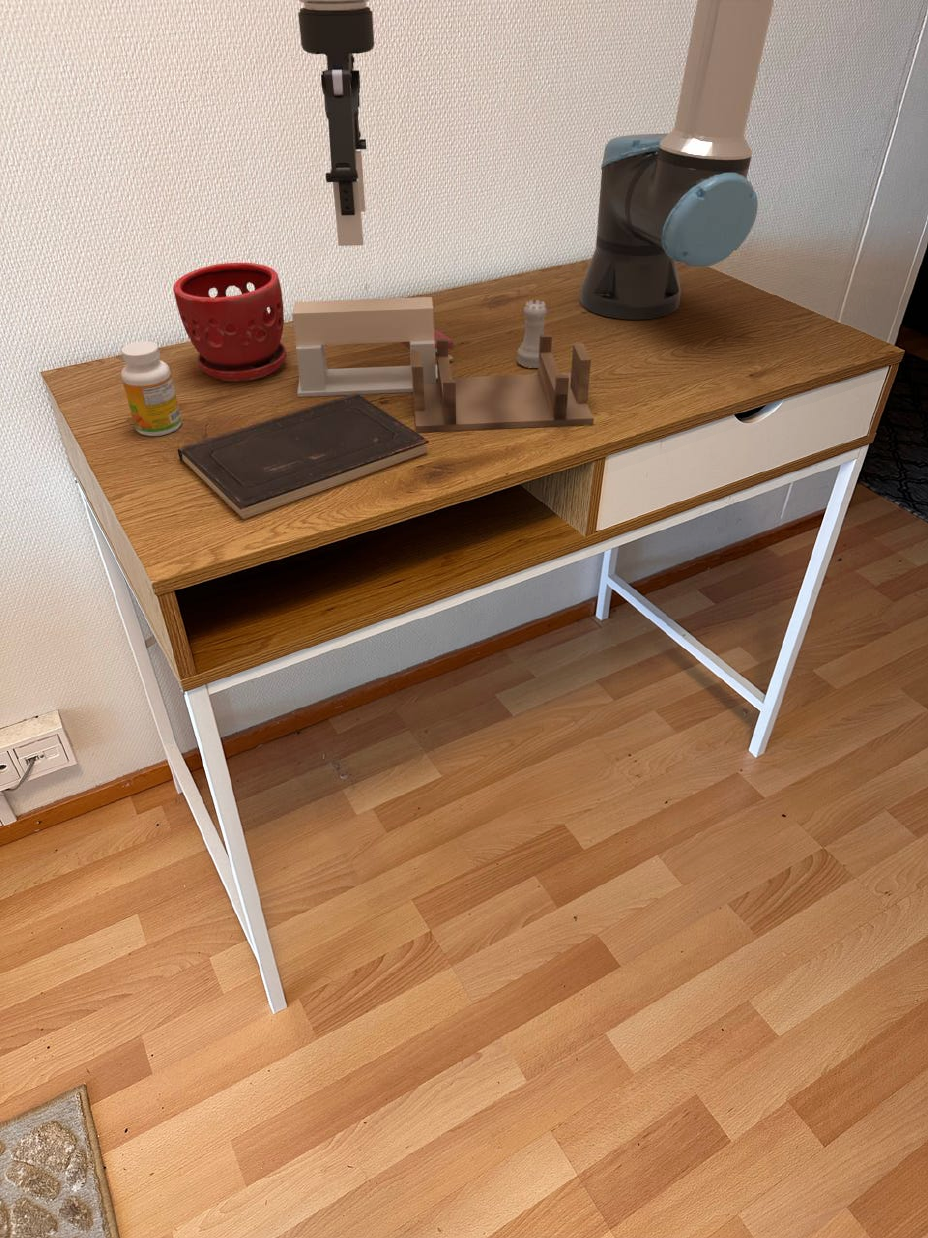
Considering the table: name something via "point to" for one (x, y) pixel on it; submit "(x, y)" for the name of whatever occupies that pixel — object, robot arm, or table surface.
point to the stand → (359, 374)
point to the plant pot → (233, 319)
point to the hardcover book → (301, 453)
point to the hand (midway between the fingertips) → (352, 227)
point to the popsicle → (436, 336)
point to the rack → (502, 395)
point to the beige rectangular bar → (363, 321)
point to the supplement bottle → (149, 390)
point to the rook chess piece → (532, 334)
